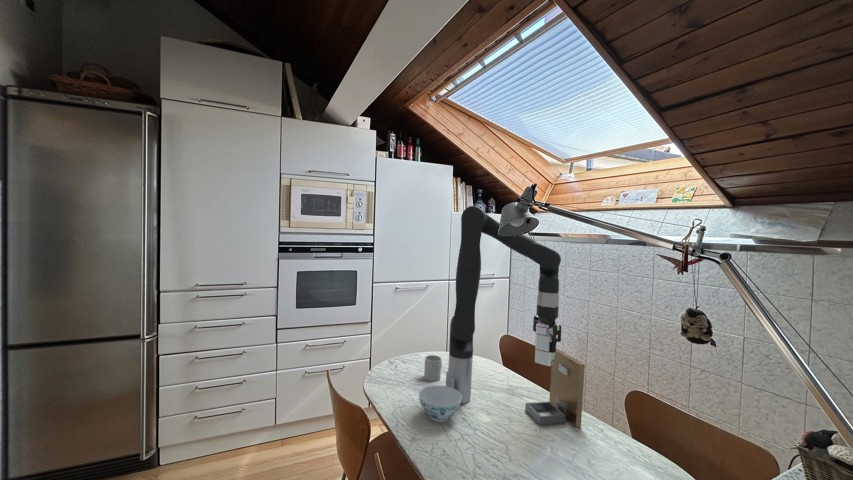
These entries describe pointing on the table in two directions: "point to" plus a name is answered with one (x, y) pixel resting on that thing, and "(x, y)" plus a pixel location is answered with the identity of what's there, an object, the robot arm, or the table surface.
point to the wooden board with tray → (562, 393)
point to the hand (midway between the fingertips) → (545, 348)
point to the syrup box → (543, 346)
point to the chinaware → (440, 402)
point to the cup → (432, 368)
